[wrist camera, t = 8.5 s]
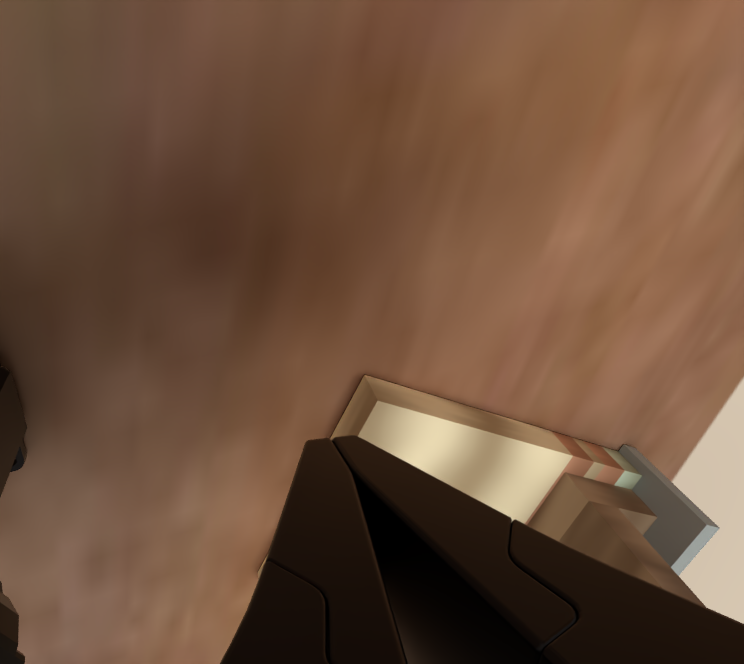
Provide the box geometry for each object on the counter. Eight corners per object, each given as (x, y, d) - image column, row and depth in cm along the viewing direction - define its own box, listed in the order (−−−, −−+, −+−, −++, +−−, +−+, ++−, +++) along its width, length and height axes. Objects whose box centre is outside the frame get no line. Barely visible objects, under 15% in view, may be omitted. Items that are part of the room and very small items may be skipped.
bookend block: (464, 612, 32) (581, 859, 22) (564, 472, 28) (749, 692, 19) (531, 619, 34) (663, 847, 24) (631, 489, 31) (826, 694, 21)
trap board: (257, 572, 29) (262, 607, 27) (364, 374, 25) (377, 400, 23) (506, 601, 36) (522, 630, 34) (618, 451, 32) (642, 475, 30)
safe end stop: (502, 607, 36) (554, 704, 31) (623, 444, 32) (706, 524, 27) (514, 608, 36) (567, 704, 31) (635, 448, 32) (719, 527, 27)
